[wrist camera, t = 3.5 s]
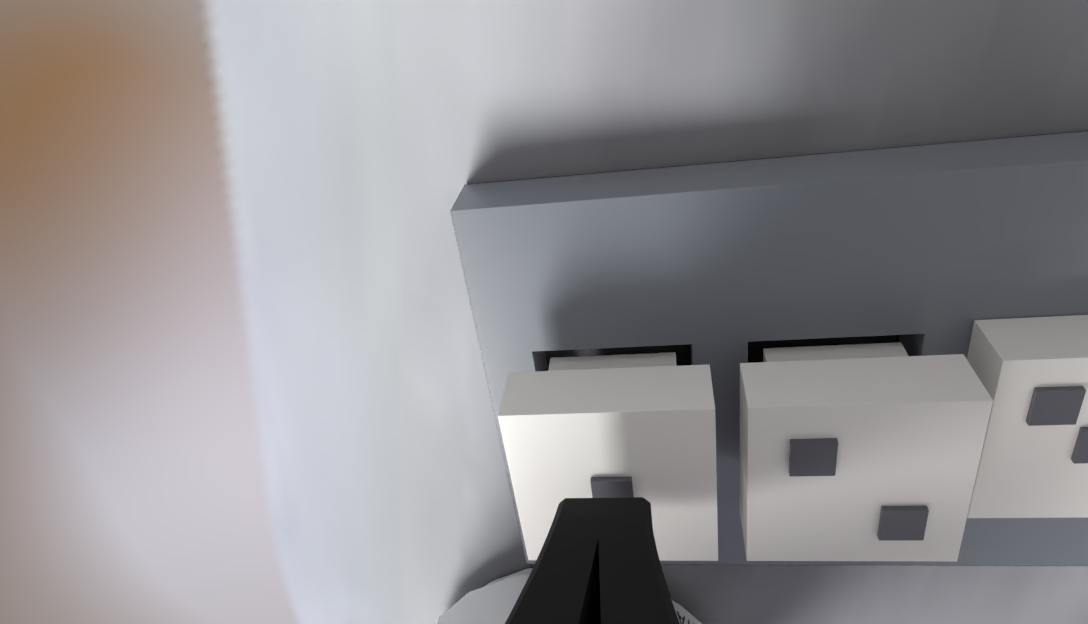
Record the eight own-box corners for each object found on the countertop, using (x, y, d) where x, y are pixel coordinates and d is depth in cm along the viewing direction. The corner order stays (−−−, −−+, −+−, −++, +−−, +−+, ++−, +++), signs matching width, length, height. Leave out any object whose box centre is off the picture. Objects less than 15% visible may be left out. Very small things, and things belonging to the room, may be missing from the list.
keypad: (1116, 521, 16) (1147, 566, 15) (533, 524, 18) (526, 563, 17) (1268, 115, 11) (1328, 140, 10) (464, 184, 14) (449, 211, 13)
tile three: (1112, 426, 15) (1189, 521, 13) (925, 431, 15) (969, 523, 13) (1163, 274, 13) (1263, 355, 11) (949, 285, 14) (1006, 364, 11)
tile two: (913, 464, 15) (959, 566, 13) (733, 466, 15) (747, 565, 13) (938, 314, 13) (995, 405, 11) (732, 325, 13) (749, 413, 11)
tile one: (708, 467, 15) (719, 565, 13) (543, 470, 16) (527, 564, 14) (704, 326, 14) (716, 413, 11) (518, 335, 14) (496, 420, 12)
